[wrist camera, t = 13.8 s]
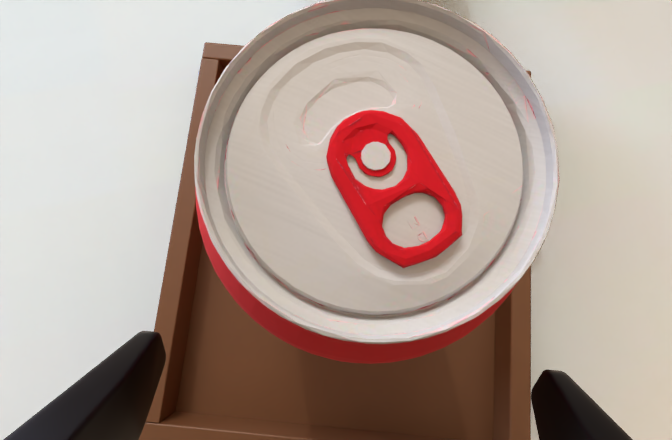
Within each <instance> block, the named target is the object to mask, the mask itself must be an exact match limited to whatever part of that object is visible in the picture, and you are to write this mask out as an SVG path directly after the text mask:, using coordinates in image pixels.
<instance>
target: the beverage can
mask: <svg viewBox="0 0 672 440" xmlns="http://www.w3.org/2000/svg"><path fill="white" fill-rule="evenodd" d="M194 174H195V195H196V210H197V216H198V223H199V229H200V232H201V236H202V239H203V243H204V246H205V250H206V252H207V254H208V257H209V259H210V261H211V263H212V266H213V268H214V270H215V272H216V274H217V275H218V277H219V278H220V280H221V282H222V283H223V285H224V286H225V288H226V289H227V291H228V292H229V293H230V295H231V296H232V297H233V299H234V300H235V301H236V302H237V303H238V305H239V306H240V307H241V308H242V309H243V310H244V311H245V312H246V313H247V314H248V315H249V316H250V317H251V318H252V319H253V320H254V321H255V322H257V323H258V324H259V325H261V326H262V327H263V328H265V329H266V330H267V331H268V332H270V333H271V334H273V335H275V336H276V337H278V338H279V339H281V340H283V341H284V342H286V343H288V344H290V345H292V346H294V347H296V348H298V349H301V350H303V351H306V352H308V353H311V354H314V355H317V356H321V357H324V358H328V359H332V360H337V361H341V362H350V363H365V364H376V363H391V362H397V361H402V360H408V359H412V358H416V357H420V356H423V355H426V354H429V353H431V352H434V351H437V350H439V349H442V348H444V347H446V346H448V345H450V344H451V343H453V342H455V341H457V340H459V339H461V338H463V337H464V336H466V335H467V334H468V333H470V332H471V331H472V330H474V329H475V328H476V327H478V326H479V325H480V324H481V323H482V322H484V321H485V320H486V319H487V318H488V317H490V316H491V315H492V314H493V313H494V312H495V311H496V310H497V308H498V307H499V306H500V305H501V304H502V303H503V302H504V301H505V299H506V298H507V297H508V296H509V294H510V293H511V292H512V290H513V289H514V287H515V286H516V285H517V283H518V282H519V280H520V279H521V278H522V276H523V275H524V274H525V273H526V271H527V270H528V268H529V267H530V265H531V264H532V262H533V261H534V259H535V257H536V256H537V254H538V252H539V250H540V248H541V246H542V244H543V242H544V240H545V238H546V236H547V233H548V230H549V227H550V224H551V221H552V218H553V215H554V211H555V206H556V199H557V193H558V186H559V165H558V150H557V144H556V139H555V133H554V128H553V125H552V122H551V119H550V117H549V114H548V112H547V109H546V106H545V104H544V101H543V99H542V97H541V95H540V93H539V91H538V90H537V88H536V86H535V84H534V83H533V81H532V79H531V78H530V76H529V74H528V73H527V72H526V70H525V69H524V68H523V67H522V66H521V64H520V63H519V62H518V61H517V60H516V58H515V57H514V56H513V55H512V54H511V52H510V51H509V50H507V49H506V48H505V47H504V46H503V45H502V44H501V43H500V42H499V41H498V40H496V39H495V38H494V37H493V36H492V35H491V34H489V33H488V32H487V31H485V30H484V29H482V28H481V27H479V26H478V25H477V24H475V23H474V22H472V21H470V20H468V19H466V18H464V17H462V16H460V15H458V14H456V13H454V12H452V11H450V10H448V9H445V8H443V7H441V6H438V5H434V4H431V3H428V2H424V1H420V0H325V1H322V2H319V3H316V4H313V5H310V6H307V7H304V8H302V9H300V10H298V11H296V12H293V13H291V14H289V15H287V16H286V17H284V18H282V19H280V20H279V21H277V22H275V23H273V24H271V25H270V26H268V27H267V28H266V29H264V30H263V31H262V32H261V33H260V34H258V35H257V36H256V37H255V38H254V39H252V40H251V41H250V42H249V43H248V44H246V45H245V46H244V47H243V48H242V49H241V50H240V52H239V53H238V54H237V55H236V56H235V57H234V59H233V60H232V61H231V62H230V63H229V64H228V65H227V67H226V68H225V69H224V71H223V73H222V74H221V76H220V78H219V79H218V81H217V83H216V85H215V86H214V88H213V90H212V91H211V94H210V96H209V99H208V101H207V104H206V106H205V109H204V111H203V114H202V117H201V121H200V125H199V129H198V134H197V138H196V146H195V155H194Z"/></svg>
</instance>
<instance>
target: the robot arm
mask: <svg viewBox="0 0 672 440" xmlns="http://www.w3.org/2000/svg"><path fill="white" fill-rule="evenodd" d="M165 362H166V352H165V348H164V345H163V341H162V337H161V335H160V334H159V333H158V332H151V331H142V332H140V333H138V334H137V335H135V336H134V337H133V338H131V339H130V340H129V341H128V342H126V343H125V344H124V345H123V346H121V347H120V348H119V349H118V350H116V351H115V352H114V353H112V354H111V355H110V356H109V357H107V358H106V359H105V360H104V361H102V362H101V363H100V364H99V365H97V366H96V367H95V368H94V369H92V370H91V371H90V372H88V373H87V374H86V375H85V376H83V377H82V378H81V379H80V380H78V381H77V382H76V383H75V384H73V385H72V386H71V387H69V388H68V389H67V390H66V391H64V392H63V393H62V394H61V395H59V396H58V397H57V398H56V399H54V400H53V401H52V402H50V403H49V404H48V405H47V406H45V407H44V408H43V409H42V410H40V411H39V412H38V413H37V414H35V415H34V416H33V417H32V418H30V419H29V420H28V421H26V422H25V423H24V424H23V425H21V426H20V427H19V428H18V429H16V430H15V431H14V432H13V433H11V434H10V435H9V436H7V437H6V438H5V439H4V440H139V437H140V435H141V433H142V430H143V428H144V425H145V422H146V419H147V416H148V413H149V410H150V407H151V405H152V402H153V399H154V396H155V393H156V390H157V387H158V384H159V381H160V378H161V375H162V372H163V369H164V366H165ZM531 400H532V405H533V410H534V415H535V420H536V425H537V430H538V435H539V440H632V439H631V438H630V437H629V436H628V435H627V434H626V433H625V432H624V431H623V430H622V429H621V428H620V427H619V426H618V425H617V424H616V423H615V422H614V421H613V420H612V419H611V418H610V417H609V416H608V415H607V414H606V413H605V412H604V411H603V410H602V409H601V408H600V407H599V406H598V405H597V404H596V403H595V402H594V401H593V400H592V399H591V398H590V397H589V396H588V395H587V394H586V393H585V392H584V391H583V390H582V389H581V388H580V387H579V386H578V385H577V384H576V383H575V382H574V381H573V380H572V379H571V378H570V377H569V376H568V375H567V374H566V373H564V372H562V371H556V370H545V371H543V372H542V374H541V375H540V377H539V379H538V380H537V382H536V384H535V385H534V387H533V389H532V392H531Z"/></svg>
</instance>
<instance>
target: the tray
mask: <svg viewBox="0 0 672 440" xmlns="http://www.w3.org/2000/svg"><path fill="white" fill-rule="evenodd" d="M243 47H244V46H240V45H229V44H217V43H205V44H204V50H203V56H202V60H201V66H200V71H199V77H198V83H197V88H196V94H195V100H194V106H193V111H192V117H191V123H190V129H189V134H188V140H187V146H186V151H185V157H184V163H183V169H182V174H181V180H180V186H179V192H178V197H177V203H176V209H175V214H174V220H173V226H172V232H171V237H170V243H169V249H168V254H167V260H166V266H165V272H164V277H163V283H162V289H161V295H160V300H159V306H158V312H157V317H156V323H155V329H154V332H158V333H159V334H160V335H161V337H162V341H163V345H164V348H165V352H166V362H165V366H164V369H163V372H162V375H161V378H160V381H159V384H158V387H157V390H156V393H155V396H154V399H153V402H152V405H151V407H150V410H149V413H148V416H147V419H146V422H145V425H144V428H143V430H142V433H141V435H140V437H139V440H530V413H531V265H530V267H529V268H528V270H527V271H526V273H525V274H524V275H523V276H522V278H521V279H520V280H519V282H518V283H517V285H516V286H515V287H514V289H513V290H512V292H511V293H510V294H509V296H508V297H507V298H506V299H505V301H504V302H503V303H502V304H501V305H500V306H499V307H498V308H497V310H496V311H495V312H494V313H493V314H492V315H491V316H490V317H488V318H487V319H486V320H485V321H484V322H482V323H481V324H480V325H479V326H478V327H476V328H475V329H474V330H472V331H471V332H470V333H468V334H467V335H466V336H464V337H463V338H461V339H459V340H457V341H455V342H453V343H451V344H450V345H448V346H446V347H444V348H442V349H439V350H437V351H434V352H431V353H429V354H426V355H423V356H420V357H416V358H412V359H408V360H402V361H397V362H391V363H376V364H365V363H350V362H341V361H337V360H332V359H328V358H324V357H321V356H317V355H314V354H311V353H308V352H306V351H303V350H301V349H298V348H296V347H294V346H292V345H290V344H288V343H286V342H284V341H283V340H281V339H279V338H278V337H276V336H275V335H273V334H271V333H270V332H268V331H267V330H266V329H265V328H263V327H262V326H261V325H259V324H258V323H257V322H255V321H254V320H253V319H252V318H251V317H250V316H249V315H248V314H247V313H246V312H245V311H244V310H243V309H242V308H241V307H240V306H239V305H238V303H237V302H236V301H235V300H234V299H233V297H232V296H231V295H230V293H229V292H228V291H227V289H226V288H225V286H224V285H223V283H222V282H221V280H220V278H219V277H218V275H217V274H216V272H215V270H214V268H213V266H212V263H211V261H210V259H209V257H208V254H207V252H206V250H205V246H204V243H203V239H202V236H201V232H200V229H199V223H198V216H197V210H196V195H195V174H194V155H195V146H196V138H197V134H198V129H199V125H200V121H201V117H202V114H203V111H204V109H205V106H206V104H207V101H208V99H209V96H210V94H211V91H212V90H213V88H214V86H215V85H216V83H217V81H218V79H219V78H220V76H221V74H222V73H223V71H224V69H225V68H226V67H227V65H228V64H229V63H230V62H231V61H232V60H233V59H234V57H235V56H236V55H237V54H238V53H239V52H240V50H241V49H242V48H243ZM526 72H527V73H528V74H529V76H530V78H531V71H526Z"/></svg>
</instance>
